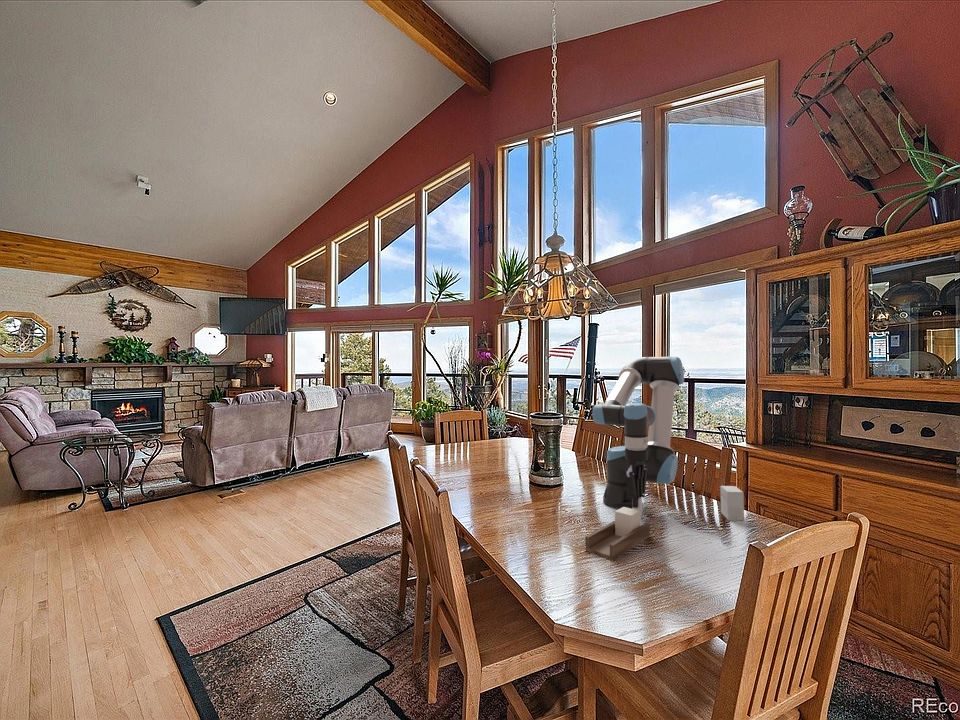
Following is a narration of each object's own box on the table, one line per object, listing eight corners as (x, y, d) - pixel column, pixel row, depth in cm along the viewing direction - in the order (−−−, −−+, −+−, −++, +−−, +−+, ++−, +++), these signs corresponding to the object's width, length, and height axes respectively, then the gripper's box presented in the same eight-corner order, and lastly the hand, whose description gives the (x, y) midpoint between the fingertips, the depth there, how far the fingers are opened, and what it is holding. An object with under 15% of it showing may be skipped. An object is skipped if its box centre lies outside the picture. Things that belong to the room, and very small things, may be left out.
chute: (585, 550, 143) (585, 536, 143) (623, 528, 159) (623, 516, 159) (613, 560, 136) (613, 545, 136) (650, 536, 152) (649, 523, 152)
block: (615, 534, 152) (614, 511, 152) (624, 529, 156) (623, 506, 156) (631, 539, 147) (631, 515, 147) (640, 534, 151) (640, 510, 151)
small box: (744, 521, 163) (744, 492, 163) (727, 520, 165) (727, 491, 164) (736, 513, 171) (736, 485, 171) (720, 512, 172) (720, 485, 172)
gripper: (637, 452, 149) (638, 524, 149) (655, 446, 158) (656, 513, 158) (616, 449, 154) (617, 518, 154) (634, 444, 163) (636, 508, 163)
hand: (637, 515), depth 156 cm, fingers closed
